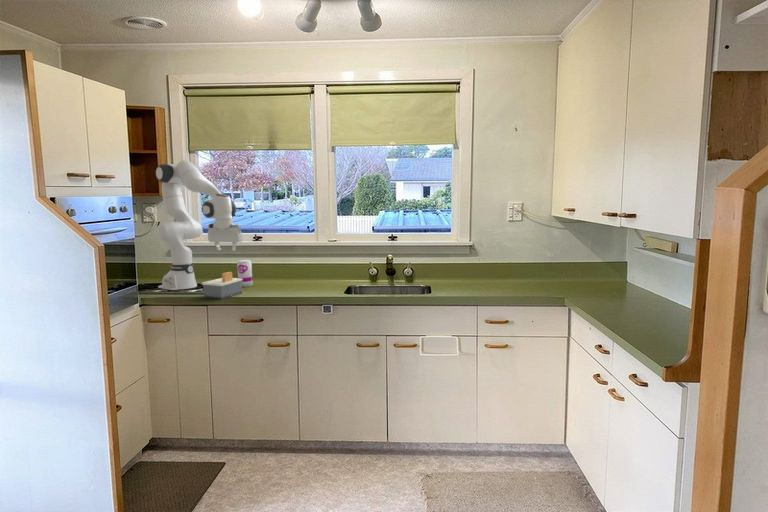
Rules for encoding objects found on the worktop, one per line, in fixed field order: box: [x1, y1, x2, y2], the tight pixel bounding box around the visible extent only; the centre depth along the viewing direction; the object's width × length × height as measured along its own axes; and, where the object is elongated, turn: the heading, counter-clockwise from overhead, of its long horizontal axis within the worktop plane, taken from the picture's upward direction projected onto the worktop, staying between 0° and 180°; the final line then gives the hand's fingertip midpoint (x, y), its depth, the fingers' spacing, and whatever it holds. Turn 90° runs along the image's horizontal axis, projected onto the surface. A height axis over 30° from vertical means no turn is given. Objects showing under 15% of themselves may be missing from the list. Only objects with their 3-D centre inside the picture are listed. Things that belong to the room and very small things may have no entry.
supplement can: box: [236, 259, 254, 288], centre depth 294 cm, size 8×8×15 cm
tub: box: [202, 281, 243, 300], centre depth 268 cm, size 12×16×7 cm
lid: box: [201, 271, 243, 286], centre depth 268 cm, size 13×17×6 cm
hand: (226, 250), depth 264 cm, fingers open, 8 cm apart
